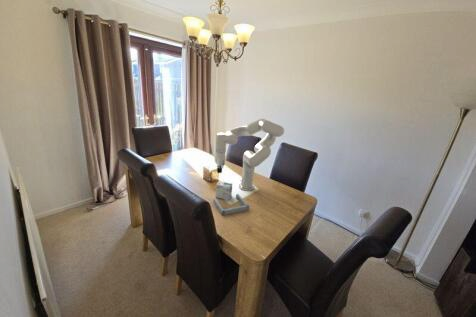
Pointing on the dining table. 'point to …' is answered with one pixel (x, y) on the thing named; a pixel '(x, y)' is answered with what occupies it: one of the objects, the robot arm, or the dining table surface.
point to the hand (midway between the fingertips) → (219, 172)
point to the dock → (232, 210)
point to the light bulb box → (223, 190)
